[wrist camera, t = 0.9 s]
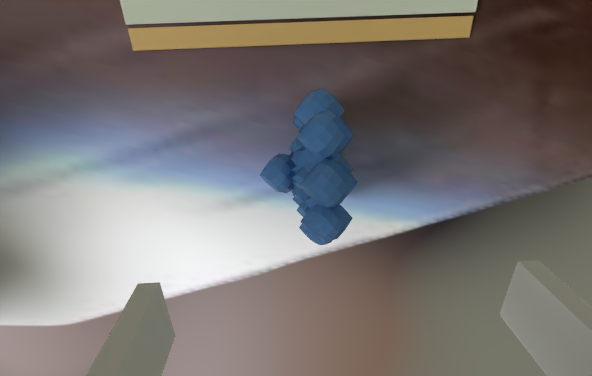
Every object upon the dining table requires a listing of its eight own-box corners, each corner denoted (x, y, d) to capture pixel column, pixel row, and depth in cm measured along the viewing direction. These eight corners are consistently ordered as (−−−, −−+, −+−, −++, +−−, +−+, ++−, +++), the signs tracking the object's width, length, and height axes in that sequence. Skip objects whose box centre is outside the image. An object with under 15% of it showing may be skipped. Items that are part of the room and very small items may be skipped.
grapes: (256, 78, 26) (242, 111, 15) (339, 74, 26) (384, 103, 15) (268, 204, 31) (264, 296, 20) (337, 200, 31) (369, 288, 20)
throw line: (134, 50, 24) (133, 50, 24) (129, 28, 23) (127, 28, 23) (467, 37, 25) (469, 37, 25) (471, 15, 24) (473, 15, 24)
